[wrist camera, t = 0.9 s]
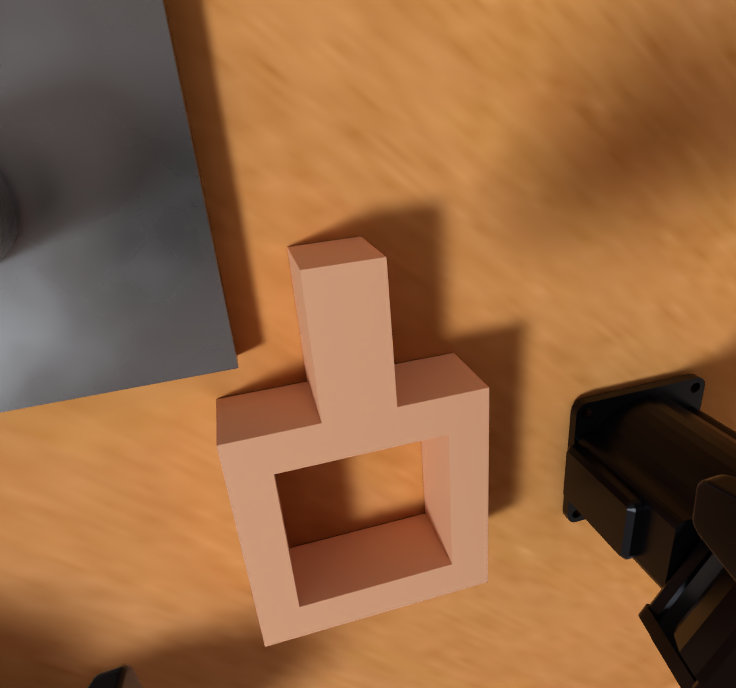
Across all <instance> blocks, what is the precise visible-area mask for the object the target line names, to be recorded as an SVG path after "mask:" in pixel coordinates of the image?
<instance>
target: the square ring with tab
mask: <svg viewBox="0 0 736 688" xmlns="http://www.w3.org/2000/svg"><path fill="white" fill-rule="evenodd" d="M287 250H288V256H289V263H290V270H291V276H292V283H293V290H294V297H295V303H296V310H297V317H298V323H299V330H300V337H301V344H302V350H303V357H304V364H305V370H306V377H307V382H302V383H297V384H292V385H287V386H282V387H277V388H272V389H267V390H261V391H256V392H251V393H246V394H241V395H236V396H231V397H226V398H221V399H216V418H217V449H218V453H219V458H220V462H221V466H222V470H223V474H224V478H225V482H226V487H227V491H228V495H229V499H230V503H231V507H232V512H233V516H234V520H235V524H236V528H237V532H238V536H239V541H240V545H241V549H242V553H243V557H244V561H245V565H246V570H247V574H248V578H249V582H250V586H251V590H252V595H253V599H254V603H255V607H256V611H257V615H258V619H259V624H260V628H261V632H262V636H263V640H264V644H265V647H267V646H270V645H273V644H277V643H280V642H284V641H287V640H291V639H294V638H297V637H301V636H304V635H308V634H311V633H315V632H318V631H321V630H325V629H328V628H332V627H335V626H339V625H342V624H345V623H349V622H352V621H356V620H359V619H363V618H366V617H369V616H373V615H376V614H380V613H383V612H387V611H390V610H393V609H397V608H400V607H404V606H407V605H411V604H414V603H417V602H421V601H424V600H428V599H431V598H434V597H438V596H441V595H445V594H448V593H452V592H455V591H458V590H462V589H465V588H469V587H472V586H476V585H479V584H482V583H486V582H488V472H489V387H488V386H487V385H486V384H485V383H484V382H483V381H482V380H481V379H480V378H479V377H478V376H477V375H476V374H475V373H474V372H473V371H472V370H471V369H470V368H469V367H468V366H467V365H466V364H465V363H464V362H463V361H462V360H461V359H460V358H459V357H458V356H457V355H456V354H455V353H450V354H445V355H440V356H435V357H430V358H425V359H419V360H414V361H409V362H404V363H399V364H394V355H393V341H392V328H391V314H390V300H389V286H388V273H387V259H386V256H385V255H383V254H382V253H381V252H380V251H378V250H377V249H376V248H375V247H373V246H372V245H371V244H370V243H369V242H367V241H366V240H365V239H364V238H362V237H361V236H360V237H353V238H346V239H339V240H332V241H325V242H318V243H311V244H304V245H297V246H290V247H287ZM418 441H421V442H422V461H423V480H424V499H425V514H421V515H417V516H413V517H409V518H406V519H402V520H398V521H394V522H390V523H386V524H382V525H378V526H374V527H371V528H367V529H363V530H359V531H355V532H351V533H347V534H343V535H339V536H336V537H332V538H328V539H324V540H320V541H316V542H312V543H308V544H305V545H301V546H297V547H293V548H289V544H288V539H287V534H286V528H285V523H284V518H283V513H282V508H281V502H280V497H279V492H278V487H277V482H276V476H275V474H278V473H282V472H287V471H291V470H296V469H300V468H304V467H309V466H313V465H318V464H322V463H326V462H331V461H335V460H339V459H344V458H348V457H353V456H357V455H361V454H366V453H370V452H374V451H379V450H383V449H388V448H392V447H396V446H401V445H405V444H409V443H414V442H418Z"/></svg>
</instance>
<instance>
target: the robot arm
mask: <svg viewBox="0 0 736 688" xmlns="http://www.w3.org/2000/svg"><path fill="white" fill-rule="evenodd" d="M704 386H705V382H704V380H703V379H702V378H700V377H698V376H696V375H695V374H688V375H683V376H679V377H675V378H670V379H666V380H661V381H657V382H652V383H648V384H644V385H639V386H635V387H630V388H626V389H621V390H617V391H613V392H608V393H604V394H599V395H595V396H590V397H586V398H582V399H579V400H577V401H576V402H575V403H574V404H573V406H572V408H571V414H570V427H569V439H568V450H567V454H566V467H565V479H564V492H563V494H564V500H563V514H564V515H565V516H566V517H567V518H568V520H569V521H571V522H577V521H581V520H584V519H586V520H587V521H588V522H589V523H590V524H591V525H592V527H593V528H594V529H595V530H596V531H597V532H598V533H599V534H600V535H601V536H602V537H603V538H604V540H605V541H606V542H607V543H608V544H609V545H610V546H611V547H612V548H613V549H614V550H615V551H616V553H617V554H618V555H620V556H621V557H622V558H624V559H631V558H633V559H634V560H635V561H636V562H637V563H638V564H639V565H640V566H641V567H642V569H643V570H644V571H645V572H646V573H647V574H648V575H649V576H650V577H651V578H652V579H653V580H654V581H655V582H656V583H657V584H658V585H659V586H660V588H661V591H660V592H659V593H658V594H657V596H656V597H655V598H654V600H653V601H652V602H651V603H650V604H646V605H645V607H644V608H643V609H642V611H641V612H640V613H639V617H640V619H641V621H642V623H643V624H644V626H645V628H646V629H647V631H648V633H649V634H650V636H651V639H652V640H653V642H654V644H655V645H656V647H657V649H658V650H659V652H660V654H661V655H662V657H663V659H664V660H665V662H666V664H667V665H668V667H669V669H670V670H671V672H672V674H673V675H674V677H675V679H676V680H677V682H678V684H679V685H680V687H681V688H736V432H735V431H733V430H732V429H730V428H728V427H727V426H725V425H723V424H722V423H720V422H718V421H717V420H715V419H713V418H712V417H710V416H708V415H707V414H705V413H703V412H702V411H700V407H701V402H702V397H703V392H704ZM584 409H586V410H585V411H584V412H583V413H582V411H583V410H584ZM87 688H143V687H142V685H141V683H140V681H139V679H138V677H137V675H136V673H135V671H134V669H133V668H132V666H130V665H129V664H123V665H119V666H116V667H113V668H110V669H107V670H104V671H101V672H99V673H98V674H97V675H96V676H95V677H94V678H93V679H92V681H91V682H90V684H89V685H88V687H87Z"/></svg>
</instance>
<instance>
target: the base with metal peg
mask: <svg viewBox="0 0 736 688" xmlns="http://www.w3.org/2000/svg"><path fill="white" fill-rule="evenodd" d="M236 368H238V359H237V352H236V348H235V343H234V338H233V333H232V328H231V323H230V318H229V313H228V309H227V304H226V299H225V294H224V289H223V284H222V279H221V274H220V270H219V265H218V260H217V255H216V250H215V245H214V240H213V235H212V231H211V226H210V221H209V216H208V211H207V206H206V201H205V196H204V192H203V187H202V182H201V177H200V172H199V167H198V162H197V157H196V153H195V148H194V143H193V138H192V133H191V128H190V123H189V118H188V114H187V109H186V104H185V99H184V94H183V89H182V84H181V79H180V75H179V70H178V65H177V60H176V55H175V50H174V45H173V41H172V36H171V31H170V26H169V21H168V16H167V11H166V6H165V2H164V0H0V412H5V411H10V410H16V409H21V408H27V407H32V406H37V405H43V404H48V403H53V402H59V401H64V400H69V399H75V398H80V397H86V396H91V395H96V394H102V393H107V392H112V391H118V390H123V389H129V388H134V387H139V386H145V385H150V384H155V383H161V382H166V381H171V380H177V379H182V378H188V377H193V376H198V375H204V374H209V373H214V372H220V371H225V370H230V369H236Z"/></svg>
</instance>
